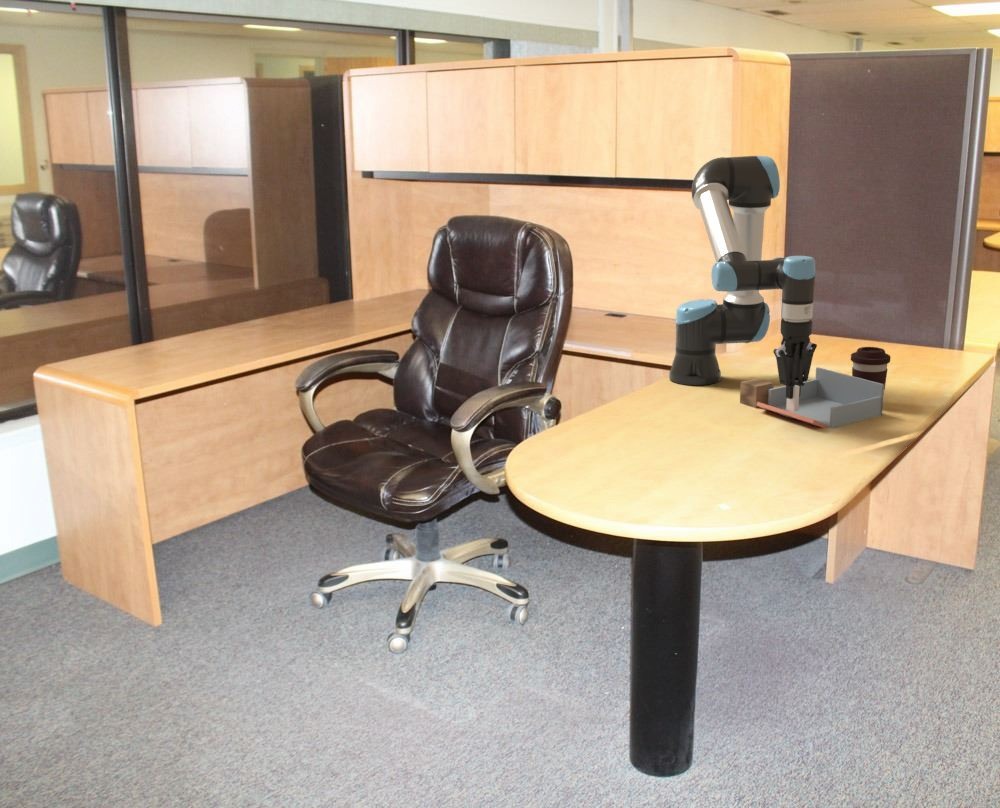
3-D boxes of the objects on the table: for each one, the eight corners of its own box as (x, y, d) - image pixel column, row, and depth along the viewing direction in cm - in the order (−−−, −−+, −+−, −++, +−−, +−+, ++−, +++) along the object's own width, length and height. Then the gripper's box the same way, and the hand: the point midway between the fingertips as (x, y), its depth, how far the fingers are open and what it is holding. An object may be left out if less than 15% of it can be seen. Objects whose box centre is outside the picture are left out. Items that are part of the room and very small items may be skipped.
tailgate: (767, 411, 269) (755, 406, 266) (769, 407, 269) (757, 401, 266) (824, 430, 253) (812, 424, 250) (826, 425, 253) (814, 419, 250)
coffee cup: (889, 409, 268) (893, 354, 264) (850, 408, 270) (853, 353, 266) (883, 398, 278) (887, 345, 274) (845, 398, 280) (849, 344, 276)
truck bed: (767, 410, 271) (769, 377, 268) (816, 399, 279) (818, 367, 277) (831, 431, 252) (833, 396, 250) (881, 418, 261) (884, 384, 258)
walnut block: (739, 406, 276) (740, 381, 274) (756, 403, 278) (757, 378, 276) (755, 411, 270) (756, 386, 269) (772, 408, 273) (773, 383, 271)
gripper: (788, 325, 246) (784, 417, 253) (827, 318, 253) (821, 408, 259) (766, 320, 253) (762, 410, 259) (804, 313, 259) (799, 402, 265)
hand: (792, 409), depth 259 cm, fingers closed
